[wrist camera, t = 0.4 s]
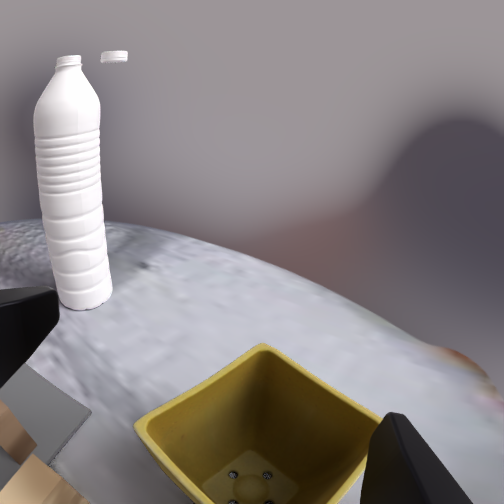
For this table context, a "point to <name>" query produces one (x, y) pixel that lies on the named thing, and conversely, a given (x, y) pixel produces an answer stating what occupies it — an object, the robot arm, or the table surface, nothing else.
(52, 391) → the mat
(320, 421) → the flower pot
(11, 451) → the walnut slotted board
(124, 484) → the table surface
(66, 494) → the beech curved plate
